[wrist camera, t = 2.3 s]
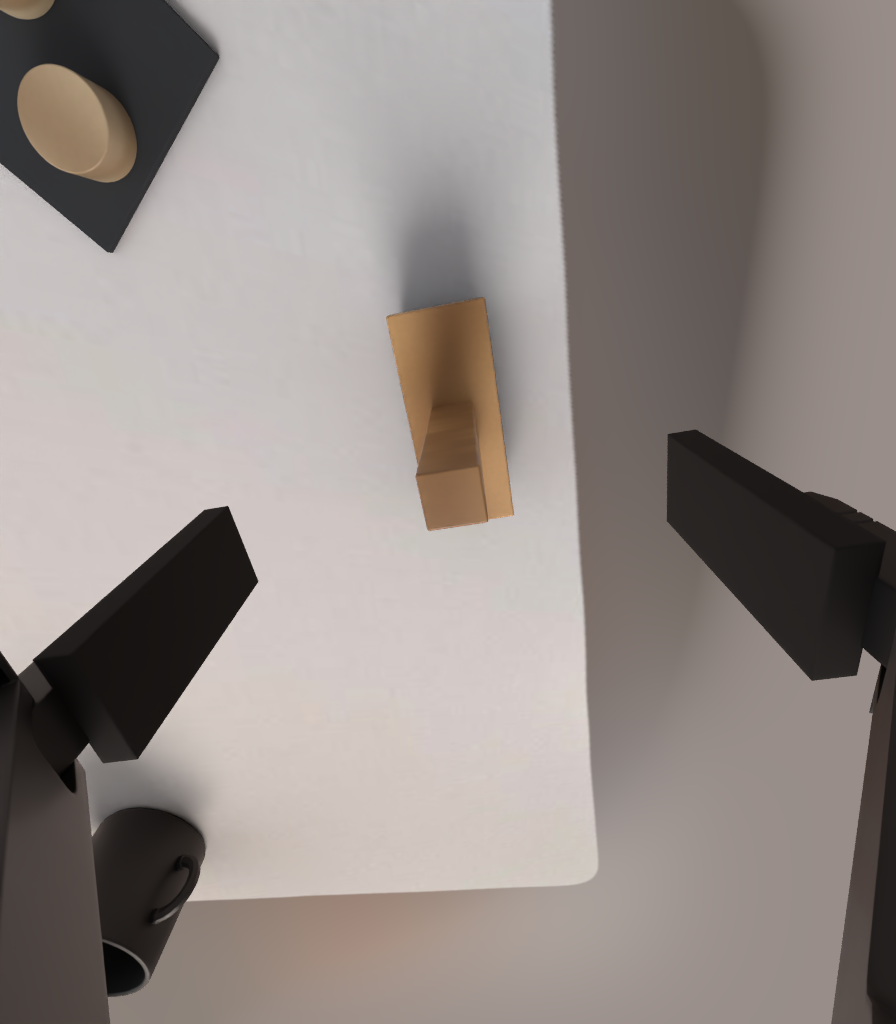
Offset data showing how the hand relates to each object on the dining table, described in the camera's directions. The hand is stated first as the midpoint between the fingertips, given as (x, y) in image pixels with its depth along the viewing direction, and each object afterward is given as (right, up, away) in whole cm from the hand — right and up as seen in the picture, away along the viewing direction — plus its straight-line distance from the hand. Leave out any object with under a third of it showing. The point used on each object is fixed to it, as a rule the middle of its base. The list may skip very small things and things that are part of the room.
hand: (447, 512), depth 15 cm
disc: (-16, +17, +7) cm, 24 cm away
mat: (-17, +19, +6) cm, 26 cm away
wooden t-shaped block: (0, +6, +12) cm, 13 cm away
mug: (-25, -29, +29) cm, 48 cm away
